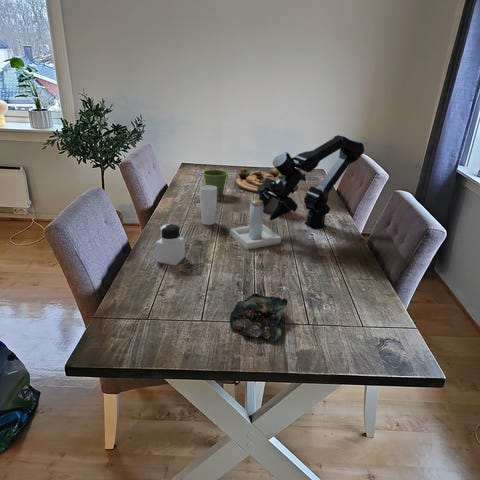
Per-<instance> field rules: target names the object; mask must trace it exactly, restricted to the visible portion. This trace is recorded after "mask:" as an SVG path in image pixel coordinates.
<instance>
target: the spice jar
mask: <svg viewBox="0 0 480 480" xmlns="http://www.w3.org/2000/svg"><path fill="white" fill-rule="evenodd" d="M263 206H264V204H263V201H262V200H259V198H258V199H257V198H256V199H255V198H254V199H251V201H250V204H249V224H248V226H249V238H250V239H252V240H259V239H261V237H262V224H263V222H264V221H263V218H264V217H263V216H264V212H263Z"/></svg>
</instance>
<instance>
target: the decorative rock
mask: <svg viewBox="0 0 480 480" xmlns="http://www.w3.org/2000/svg"><path fill="white" fill-rule="evenodd" d="M287 306H288V300H287V298H285V297H283V298H281V297H279V296H276V297H275V296H265V295H260V294H258V293H253V294H251V296H249V297H248V298H246V299H244V300H243V301H242V300H239V301H237V302H236V304H235V307H234V308H233V310H232V311H231V313H230V317H229V325H230V329H232V330H240V332H241V334H242V335H243V336H247V337H252V338H258V337H261V336H262V337H263V338H264V339H266V341H267V342H268V341H269V342H276V341H279V340H280V339H281V336H282V334H283V329H284V325H285V324H286V317H284V315H285V313H286V309H287V308H288V307H287ZM266 319H268V321H265V320H266Z"/></svg>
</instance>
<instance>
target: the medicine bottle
mask: <svg viewBox="0 0 480 480" xmlns="http://www.w3.org/2000/svg"><path fill="white" fill-rule="evenodd" d="M159 229H160V239H158V240H157V241H155V258H156V259H155V260H156V263H160V264H164V265H171V266H177V265H178V264H179V263H180V262H181V261H183V260H184V258H185V257H186V241H185V240H186V239H185V237H181V236H180V235H181V234H180V227H179V226H178V225H177V224H175V223H174V224H173V223H168V224H164V225H161V227H160V228H159Z"/></svg>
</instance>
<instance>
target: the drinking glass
mask: <svg viewBox="0 0 480 480" xmlns="http://www.w3.org/2000/svg"><path fill="white" fill-rule="evenodd" d="M199 202H200V204H199V205H200V212H201V213H200V214H201V224H203V225H204V226H212V225H214V224H215V223H216V214H217V213H216V211H217V203H218V197H217V187H216V186H212V185H206V184H205V185H201V186H200V187H199Z"/></svg>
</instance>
